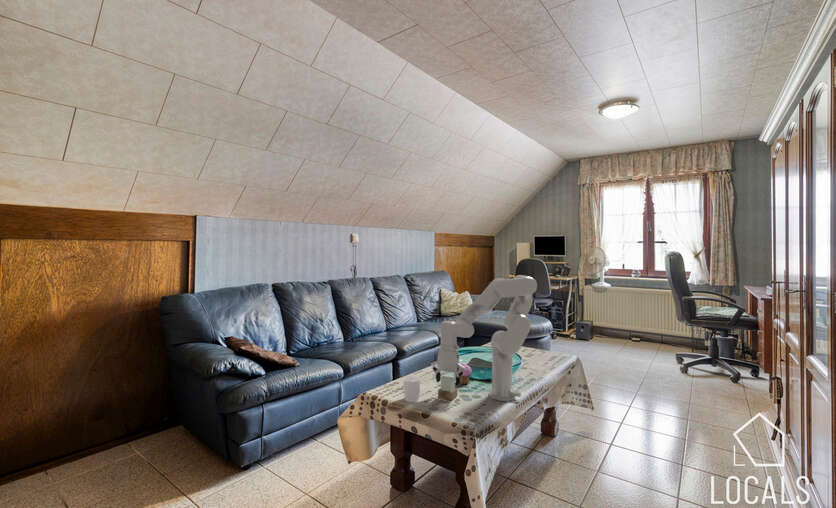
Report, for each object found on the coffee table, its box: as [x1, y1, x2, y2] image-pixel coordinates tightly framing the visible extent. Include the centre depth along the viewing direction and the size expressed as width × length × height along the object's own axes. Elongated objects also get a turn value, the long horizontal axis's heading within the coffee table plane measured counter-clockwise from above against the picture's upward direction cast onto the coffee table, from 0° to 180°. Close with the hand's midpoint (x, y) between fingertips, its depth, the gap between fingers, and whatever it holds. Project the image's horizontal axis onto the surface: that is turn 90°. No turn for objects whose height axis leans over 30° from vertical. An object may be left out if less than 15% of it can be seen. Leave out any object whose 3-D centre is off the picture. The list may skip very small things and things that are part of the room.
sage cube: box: [440, 374, 456, 392], centre depth 186 cm, size 5×5×6 cm
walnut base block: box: [437, 387, 458, 402], centre depth 186 cm, size 7×7×4 cm
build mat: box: [435, 395, 460, 403], centre depth 186 cm, size 18×12×1 cm, turn 63°
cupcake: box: [459, 363, 473, 385], centre depth 208 cm, size 9×9×10 cm
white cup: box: [403, 375, 421, 403], centre depth 183 cm, size 8×8×10 cm
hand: (447, 383), depth 186 cm, fingers open, 9 cm apart
